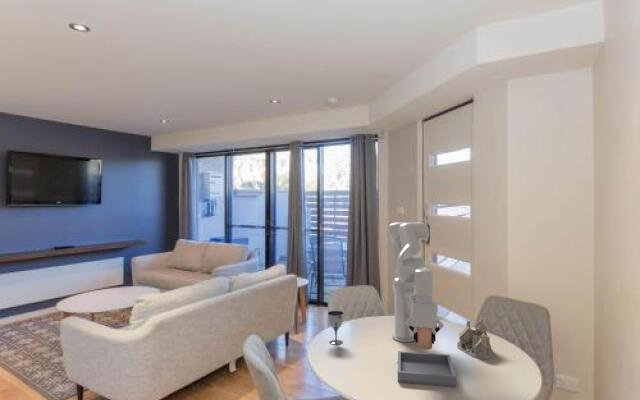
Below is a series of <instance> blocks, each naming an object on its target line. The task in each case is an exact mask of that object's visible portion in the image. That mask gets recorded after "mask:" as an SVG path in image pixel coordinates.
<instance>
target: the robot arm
mask: <svg viewBox="0 0 640 400" xmlns="http://www.w3.org/2000/svg"><path fill="white" fill-rule="evenodd" d="M387 232H388V239H389V240H390V243H391V246H392V254H393V257H392V258H393V267H394V272H395V273H396V274H397V277H396V278H395V277H394V279H393V280H392V285H391V286H392V291H393V298H394V299H393V300H394V302H393V303H394V332H393V333H392V334H391V336H392V339H393V340H394V341H397V342H402V343H411V342H414V341H415V343H416V344H417V328H421V327H428V328H431V329H432V345H434V344H435V342H436V341H437V340H436V334H437V333H438V332H439V331H440V330H441V329H443V328H444V323H443V322H442V321H441V320H440V319H439V318H438V313H437V305H436V303H435V302H434V280H433V279H434V278H433V271H432V269H431V268H430V267H429V266H427V265H426V262H425V260H424V258H423V257H422V256H421V255H418V254H419V253H420V252H421V251H422V245H421V243H420V241H425V240H428V239H429V237H430V230H429V227H428V225H427V224H426V223H425V222H421V221H414V222H413V221H412V222H411V221H410V222H403V221H402V222H401V221H399V222H393V223H390V224H389V226H388V228H387ZM409 296H410V298H409ZM412 300H413V301H412Z"/></svg>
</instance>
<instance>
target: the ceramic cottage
mask: <svg viewBox="0 0 640 400" xmlns="http://www.w3.org/2000/svg"><path fill="white" fill-rule="evenodd" d="M474 324H475V325H474V326H475V330H474V329H472V328H471V321H470V320H466V324H465V325H466V326H465V327H464V329H463V330H462V331H460V332H459V334H458V335H459V337H458V338H459V340H458V342H457V345H456V346H457V349H458V350H460V351H461V352H463V353H465V355H468V356H469V357H471V358H475V359H481V360H489V359H490V358H491V357H493V355H494V349H493V348H492V345H491V343H490V342H491V341H490V336H488V334H487V330H488V328H487V327H488V326H487V324H486V323H484V319H483V318H481V317H480V319H479V320H478V322H475V323H474Z"/></svg>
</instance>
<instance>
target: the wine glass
mask: <svg viewBox="0 0 640 400" xmlns="http://www.w3.org/2000/svg"><path fill="white" fill-rule="evenodd" d="M327 320H328V323H329V324H328V325H329V326H330V327H331V328H332V329H333V331H334V335H335V337H334V339H331V340H330V341H329V342H328V343H329V344H330V345H332V346H340V345H343V344H344V341H343V340H341V339H338V331H339V329H340V328H341V327H342V325H343V324H344V311H341V310H329V311H328V312H327Z"/></svg>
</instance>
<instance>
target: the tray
mask: <svg viewBox="0 0 640 400" xmlns="http://www.w3.org/2000/svg"><path fill="white" fill-rule="evenodd" d="M456 374H457V373H456V371H455V369H454V365H453V362H452V358H451V355H450V354H445V353H443V354H442V353H441V354H440V353H431V352H430V353H428V352H427V353H426V352H416V351H415V352H414V351H403V350H402V351H397V383H402V384H403V383H404V384H415V385H426V386H437V387H449V388H457V375H456Z"/></svg>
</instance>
